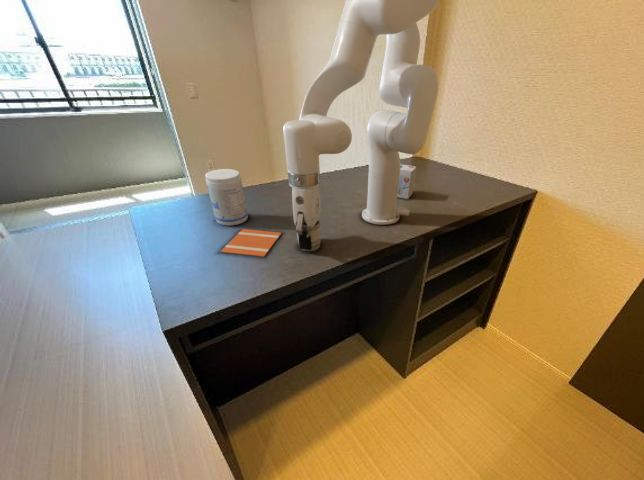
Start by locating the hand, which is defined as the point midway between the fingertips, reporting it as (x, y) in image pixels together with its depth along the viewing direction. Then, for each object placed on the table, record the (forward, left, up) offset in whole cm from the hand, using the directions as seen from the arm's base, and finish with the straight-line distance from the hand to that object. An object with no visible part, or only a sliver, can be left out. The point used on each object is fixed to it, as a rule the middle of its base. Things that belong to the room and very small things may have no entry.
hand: (309, 241), depth 82 cm
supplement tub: (+28, -11, -2) cm, 30 cm away
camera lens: (0, 0, -2) cm, 2 cm away
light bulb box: (-23, -45, -2) cm, 50 cm away
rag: (+16, +1, -1) cm, 16 cm away
